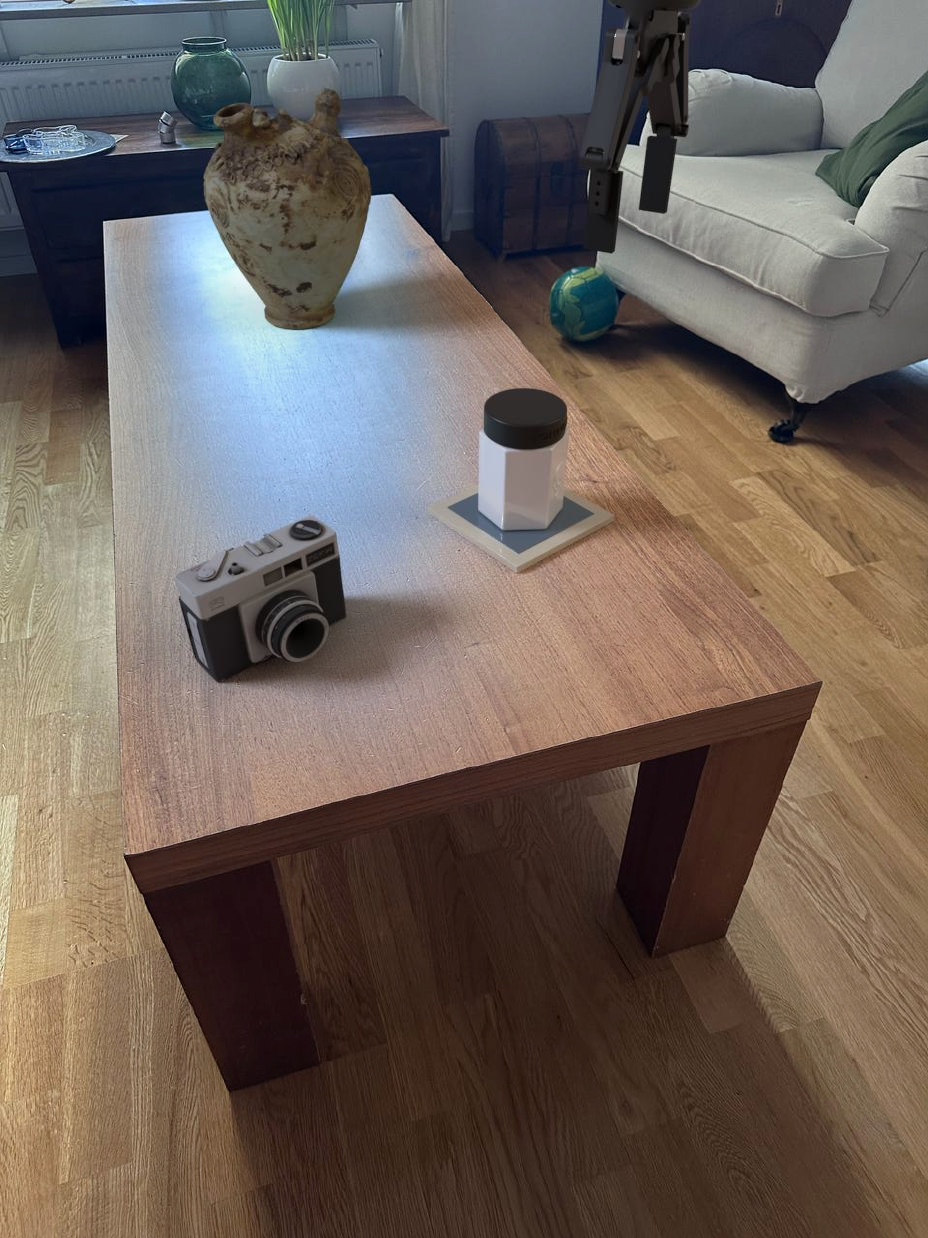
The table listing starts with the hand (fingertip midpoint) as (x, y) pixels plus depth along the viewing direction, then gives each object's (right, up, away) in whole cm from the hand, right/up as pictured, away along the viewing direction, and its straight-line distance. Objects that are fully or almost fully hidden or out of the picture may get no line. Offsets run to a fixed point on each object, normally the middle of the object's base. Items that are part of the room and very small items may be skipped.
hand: (627, 229), depth 83 cm
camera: (-32, -39, -5) cm, 51 cm away
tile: (-9, -26, +11) cm, 30 cm away
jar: (-9, -25, +10) cm, 29 cm away
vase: (-40, +10, +53) cm, 67 cm away
